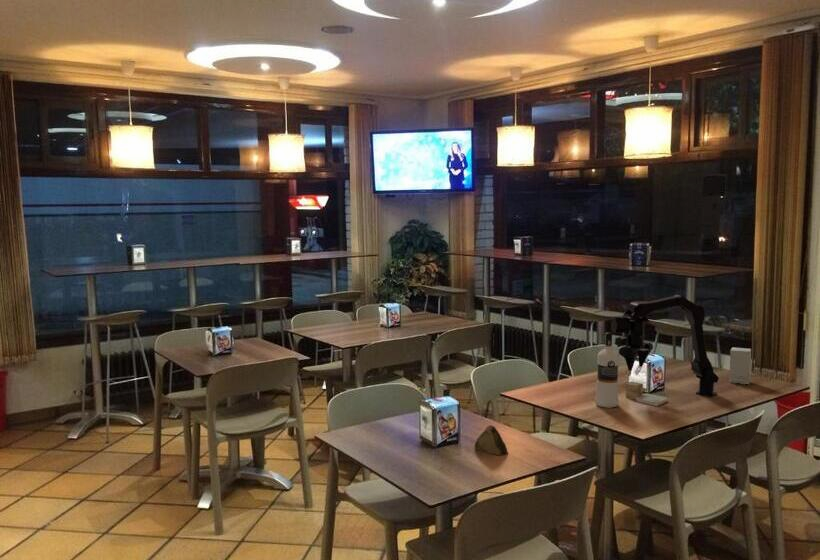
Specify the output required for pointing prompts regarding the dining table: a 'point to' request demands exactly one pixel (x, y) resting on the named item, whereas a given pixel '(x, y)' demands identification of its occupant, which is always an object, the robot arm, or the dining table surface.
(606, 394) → the vodka
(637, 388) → the oak block
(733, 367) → the skincare box
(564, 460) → the dining table surface
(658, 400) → the trivet
